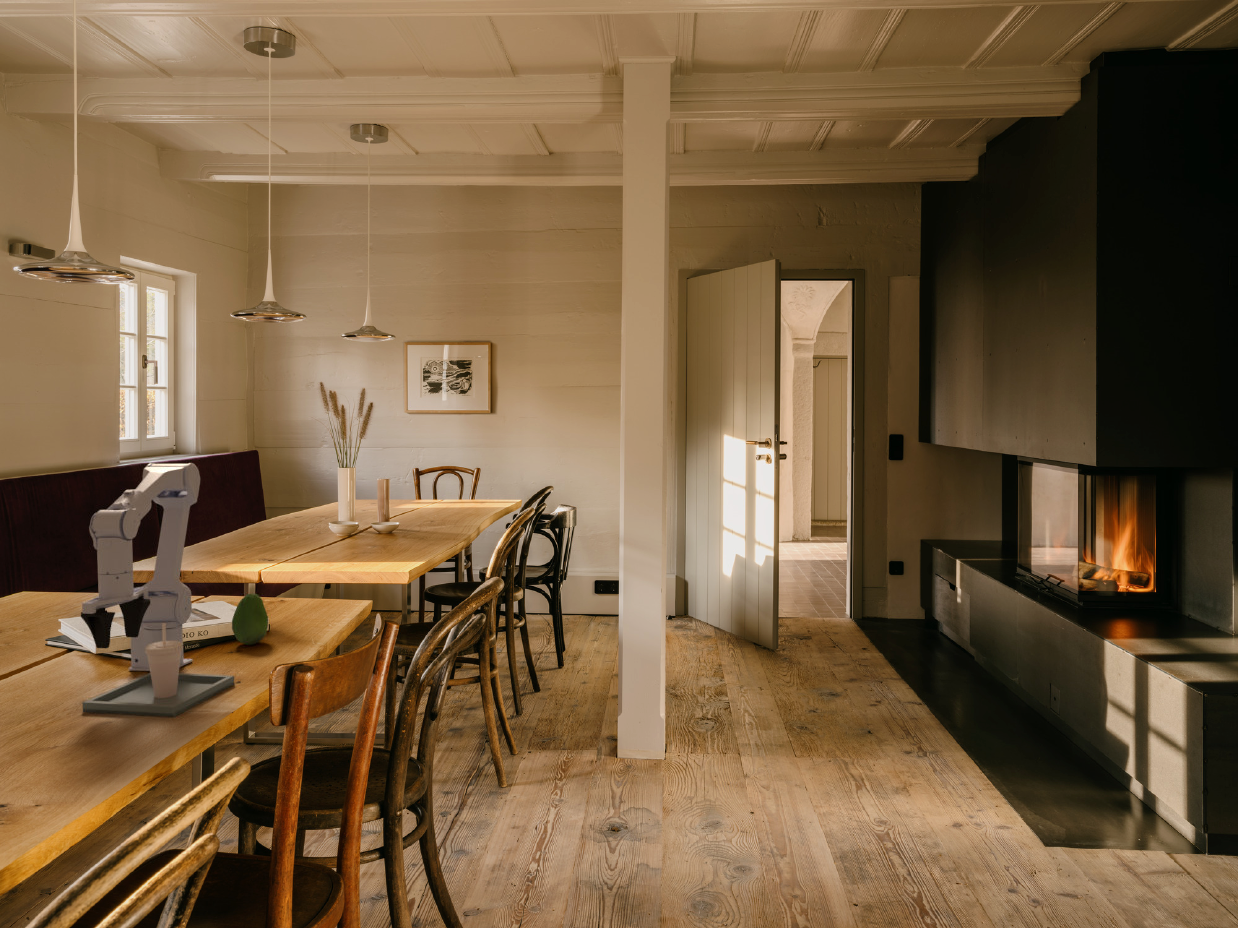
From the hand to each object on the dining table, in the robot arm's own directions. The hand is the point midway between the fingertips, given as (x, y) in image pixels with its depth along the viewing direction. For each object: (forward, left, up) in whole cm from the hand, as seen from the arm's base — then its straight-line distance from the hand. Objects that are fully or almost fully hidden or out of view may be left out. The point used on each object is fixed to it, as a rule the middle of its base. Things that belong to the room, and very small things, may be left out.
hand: (117, 642), depth 155 cm
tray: (+9, 0, -10) cm, 14 cm away
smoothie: (+10, 0, -10) cm, 14 cm away
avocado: (+4, +37, -11) cm, 39 cm away
